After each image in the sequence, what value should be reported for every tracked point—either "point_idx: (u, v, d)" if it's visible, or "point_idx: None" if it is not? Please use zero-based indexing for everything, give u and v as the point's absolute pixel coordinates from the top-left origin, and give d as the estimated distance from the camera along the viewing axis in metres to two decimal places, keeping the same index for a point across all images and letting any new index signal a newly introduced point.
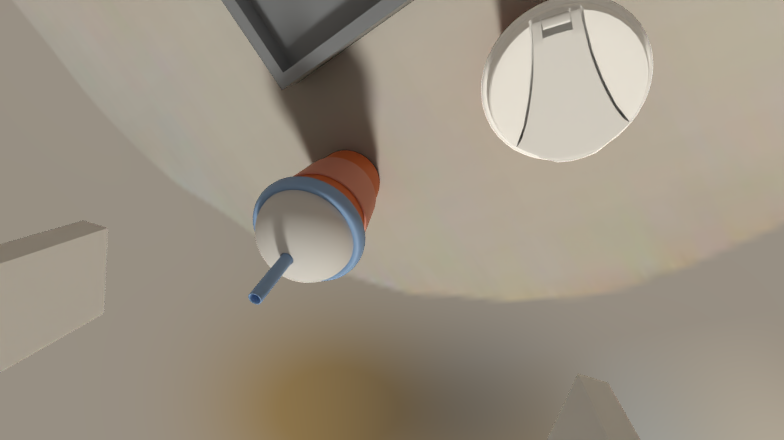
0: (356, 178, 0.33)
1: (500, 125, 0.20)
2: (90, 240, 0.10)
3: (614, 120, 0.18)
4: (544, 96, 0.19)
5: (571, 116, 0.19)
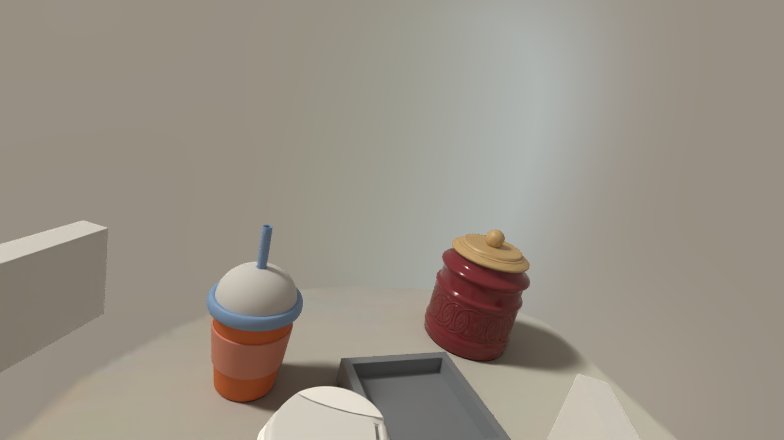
0: (263, 361, 0.39)
1: (318, 388, 0.25)
2: (90, 240, 0.10)
3: None
4: (332, 416, 0.23)
5: (309, 429, 0.22)
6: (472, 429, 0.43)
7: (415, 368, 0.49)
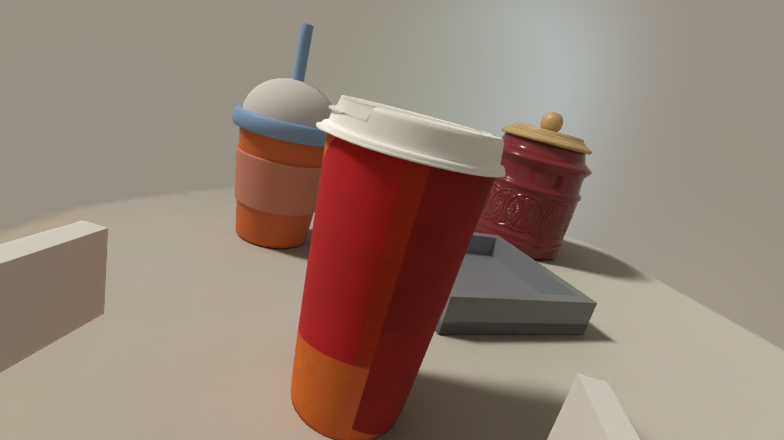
0: (297, 192, 0.32)
1: None
2: (90, 240, 0.10)
3: (380, 106, 0.14)
4: (417, 114, 0.17)
5: (392, 108, 0.16)
6: None
7: None
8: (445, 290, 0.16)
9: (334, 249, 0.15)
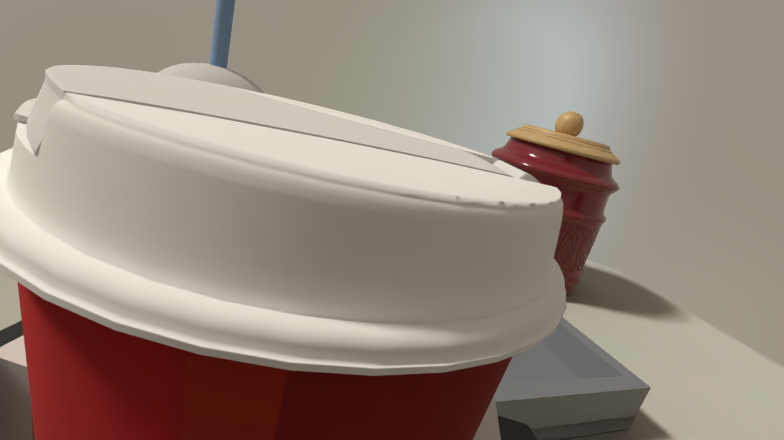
0: None
1: None
2: None
3: (138, 96, 0.04)
4: (334, 119, 0.07)
5: (245, 103, 0.06)
6: (565, 370, 0.26)
7: None
8: None
9: None
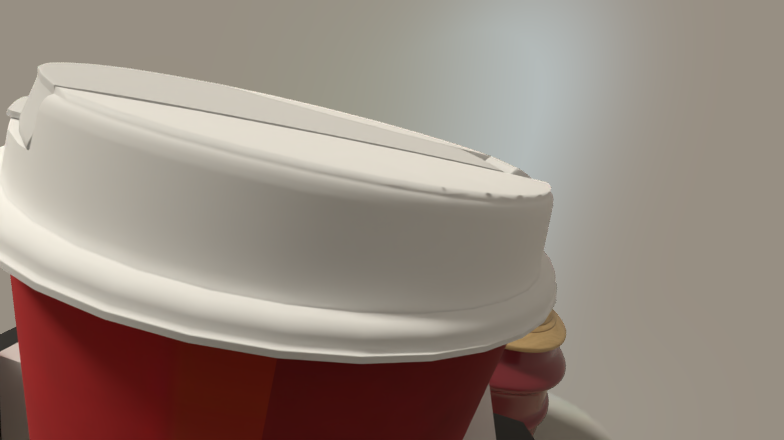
0: None
1: None
2: None
3: (129, 91, 0.04)
4: (328, 117, 0.07)
5: (238, 101, 0.06)
6: None
7: None
8: None
9: None
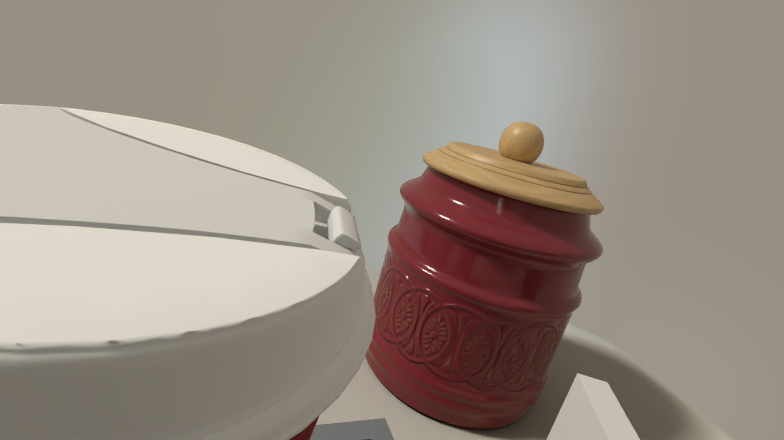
0: None
1: (148, 121, 0.08)
2: None
3: None
4: (156, 160, 0.06)
5: (17, 157, 0.05)
6: None
7: None
8: None
9: None
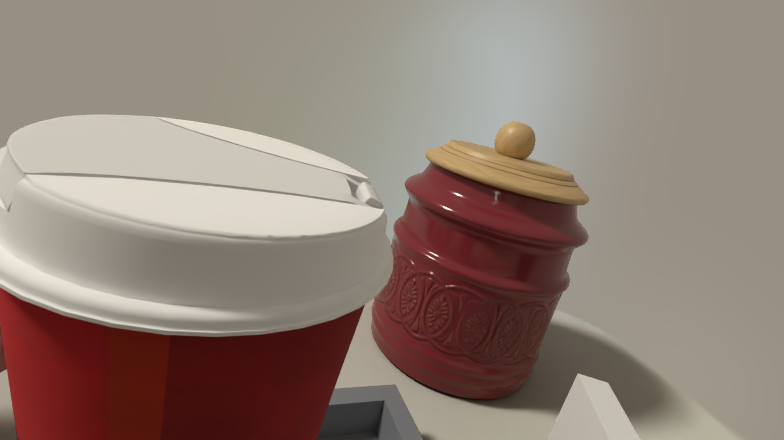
0: None
1: (213, 125, 0.11)
2: None
3: (73, 165, 0.06)
4: (236, 151, 0.09)
5: (159, 149, 0.08)
6: None
7: None
8: None
9: None
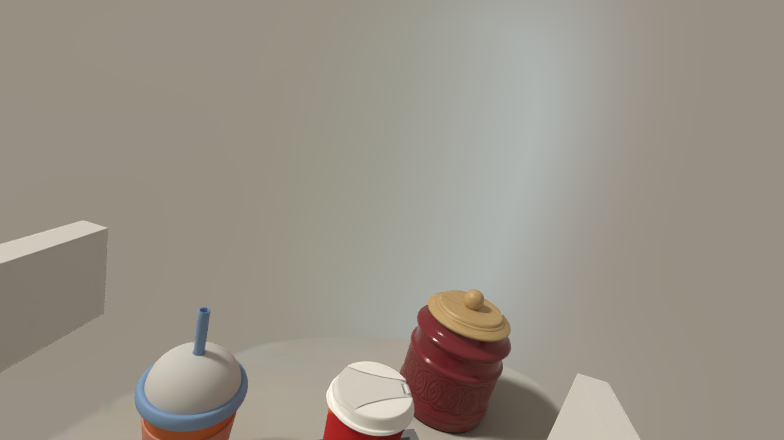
0: None
1: (359, 362, 0.37)
2: (90, 240, 0.10)
3: (357, 403, 0.32)
4: (373, 379, 0.35)
5: (361, 388, 0.34)
6: None
7: None
8: None
9: None
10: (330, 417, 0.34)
